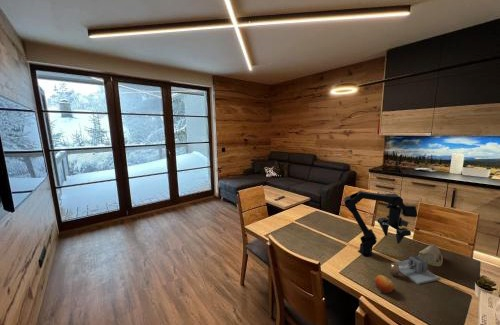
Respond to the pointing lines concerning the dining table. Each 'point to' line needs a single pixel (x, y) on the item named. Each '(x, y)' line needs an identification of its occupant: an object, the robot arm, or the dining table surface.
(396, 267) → the metal knob rod
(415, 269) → the barrel bolt latch
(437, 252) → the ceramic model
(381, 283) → the fruit
